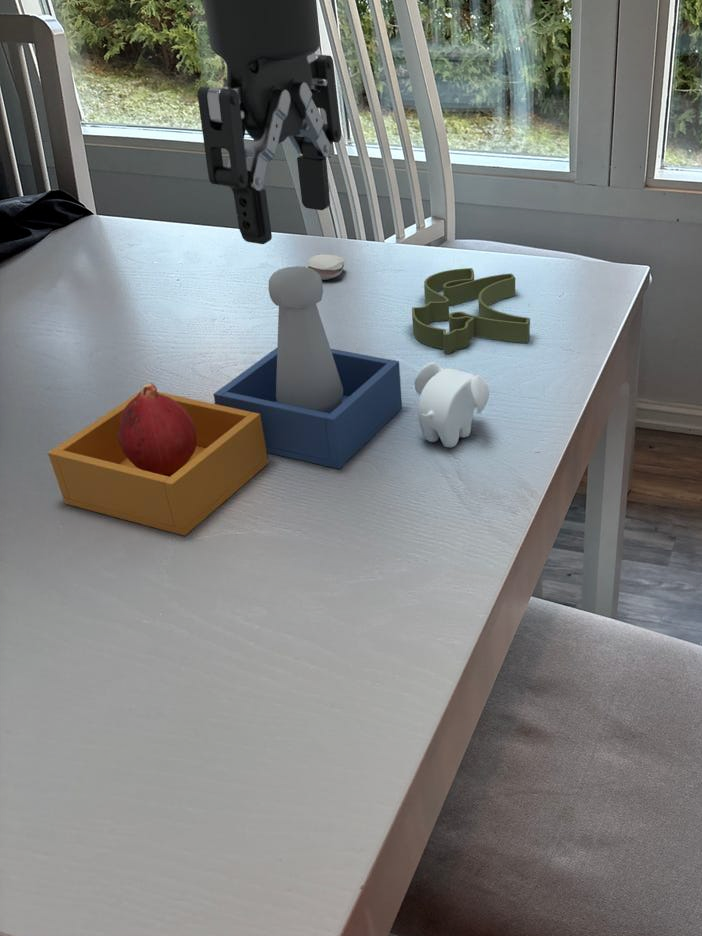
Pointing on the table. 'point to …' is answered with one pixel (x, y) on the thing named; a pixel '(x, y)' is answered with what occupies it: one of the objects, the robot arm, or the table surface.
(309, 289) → the salt shaker
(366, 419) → the blue bin
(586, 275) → the table surface
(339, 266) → the macaroon
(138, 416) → the red pomegranate
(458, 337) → the cookie cutter
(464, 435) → the elephant figurine
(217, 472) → the ochre bin
